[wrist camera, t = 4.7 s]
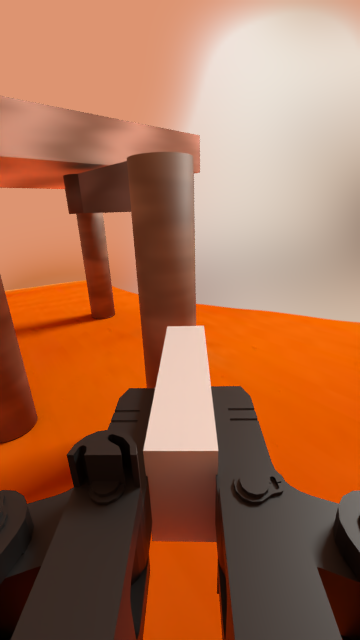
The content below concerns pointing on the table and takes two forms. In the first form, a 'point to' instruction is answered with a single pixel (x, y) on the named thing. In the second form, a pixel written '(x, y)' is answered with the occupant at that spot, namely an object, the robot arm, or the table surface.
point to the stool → (47, 172)
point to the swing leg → (150, 236)
